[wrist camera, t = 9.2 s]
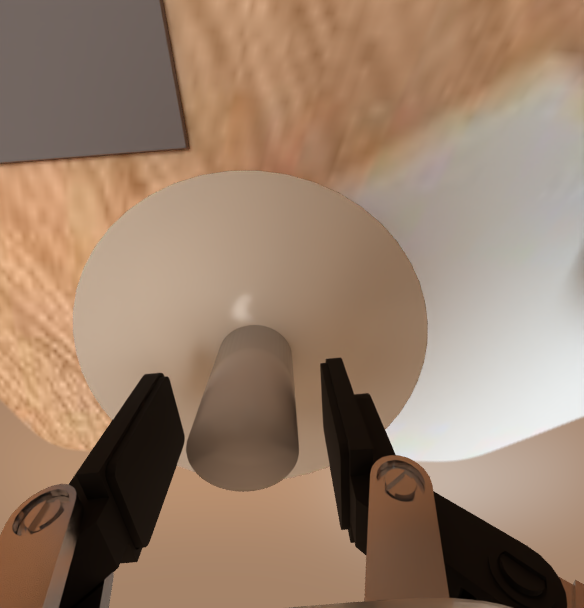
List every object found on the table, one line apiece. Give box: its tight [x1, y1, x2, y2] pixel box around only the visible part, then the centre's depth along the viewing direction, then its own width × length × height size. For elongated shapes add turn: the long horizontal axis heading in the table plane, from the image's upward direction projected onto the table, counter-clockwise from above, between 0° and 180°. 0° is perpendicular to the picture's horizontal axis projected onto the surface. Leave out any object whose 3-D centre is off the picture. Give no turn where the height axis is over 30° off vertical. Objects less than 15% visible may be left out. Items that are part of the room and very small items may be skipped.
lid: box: [73, 171, 428, 492], centre depth 12 cm, size 15×15×6 cm
